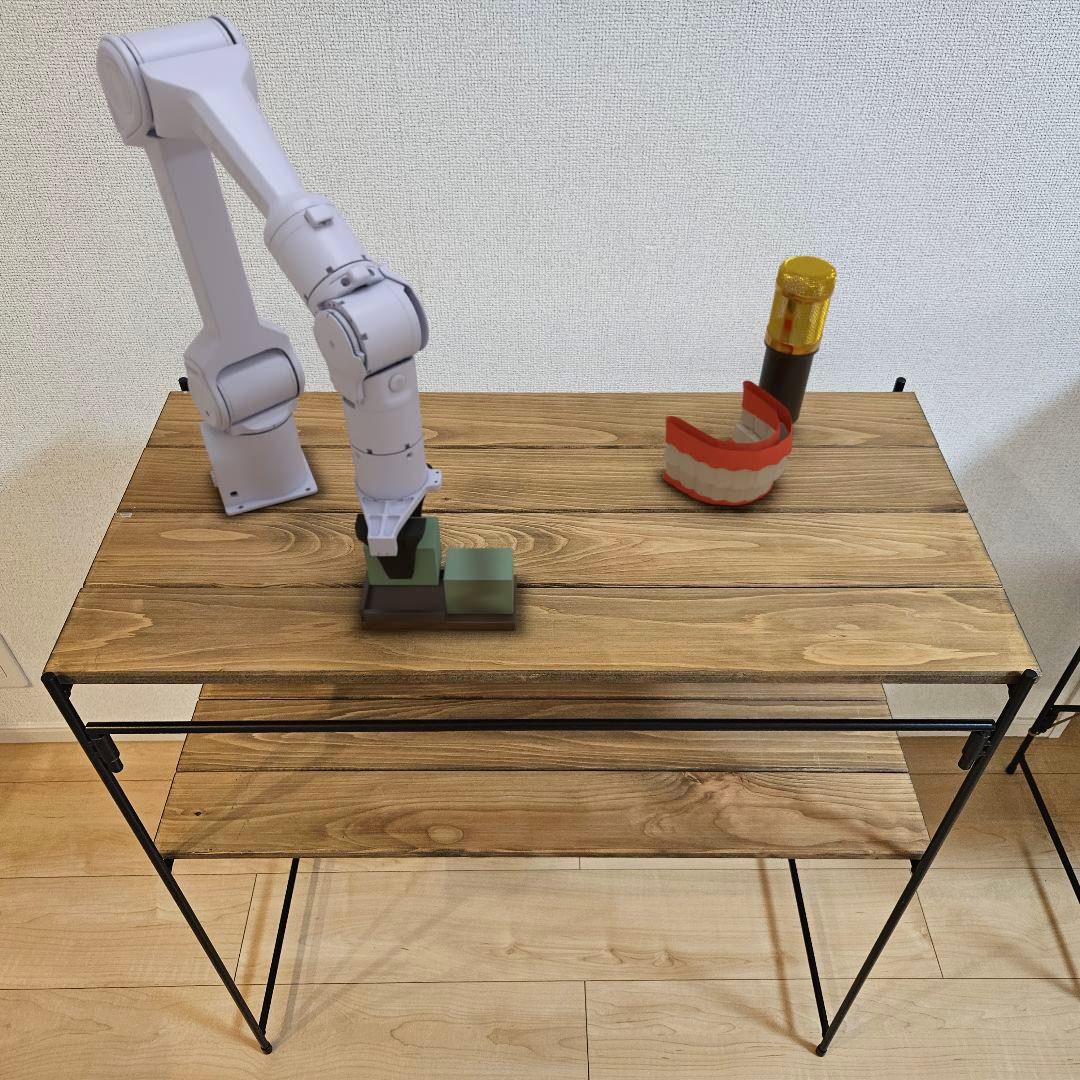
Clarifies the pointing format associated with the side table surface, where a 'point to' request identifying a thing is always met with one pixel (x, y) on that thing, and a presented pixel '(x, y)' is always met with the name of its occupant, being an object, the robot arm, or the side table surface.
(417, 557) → the block
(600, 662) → the side table surface
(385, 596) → the dark brown tray
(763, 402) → the toy
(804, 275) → the black gold cylinder
